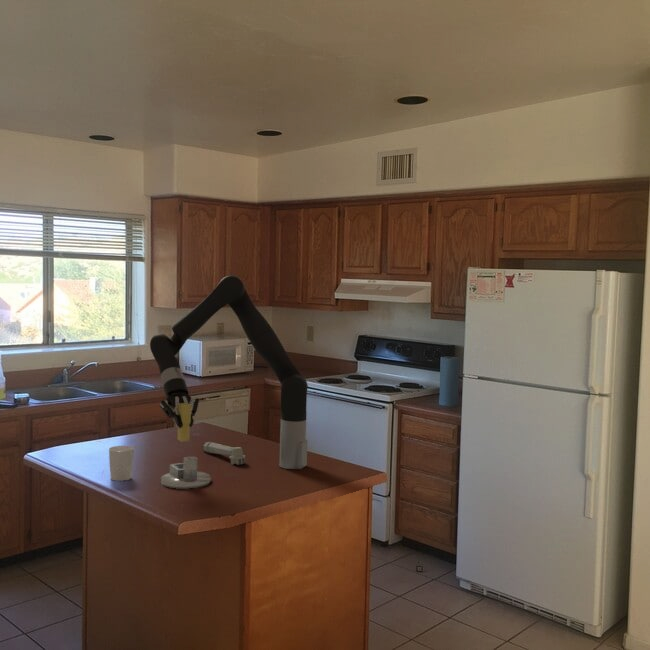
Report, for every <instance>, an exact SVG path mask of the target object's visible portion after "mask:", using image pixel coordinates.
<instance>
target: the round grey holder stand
mask: <svg viewBox="0 0 650 650" xmlns="http://www.w3.org/2000/svg"><path fill="white" fill-rule="evenodd" d="M211 481H212V477H211V474H209V473H207V472H204V471H198V457H197V456H185V457H183V462H182V463H179V462H178V463H171V464H169V472H168V473H165V474H163V475H162V476H161V477H160V484H161V486H163V487H165V488H168V487H169V489H173V488H176V489H175V490H190V489H189V488H195V489H199V488H198V487H201V488H204V487H206V485H207V486H208V484H209V483H210V482H211ZM210 484H211V483H210ZM210 484H209V485H210ZM203 486H204V487H203Z"/></svg>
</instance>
